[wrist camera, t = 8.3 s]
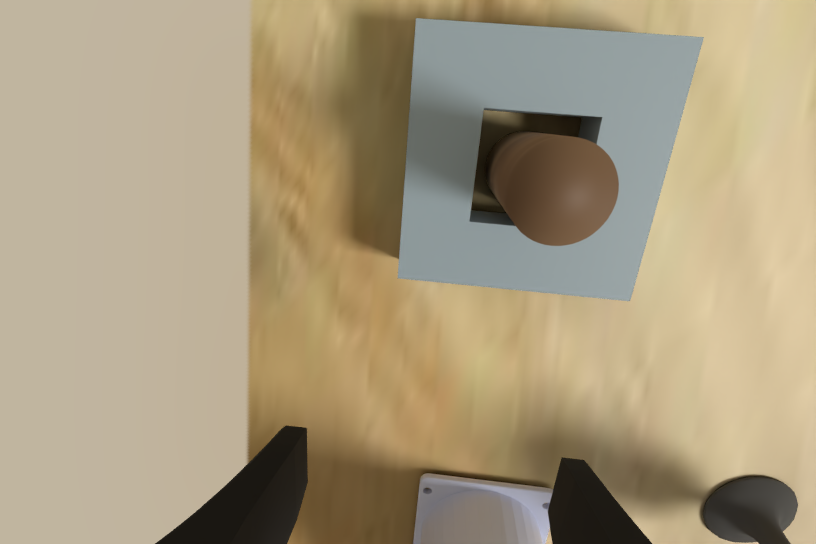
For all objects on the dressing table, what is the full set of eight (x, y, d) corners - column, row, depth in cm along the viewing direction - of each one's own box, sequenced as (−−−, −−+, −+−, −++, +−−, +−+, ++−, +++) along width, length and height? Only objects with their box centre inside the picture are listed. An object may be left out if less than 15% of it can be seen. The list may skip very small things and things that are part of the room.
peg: (555, 202, 19) (613, 243, 13) (485, 205, 20) (506, 248, 13) (559, 128, 18) (623, 132, 12) (484, 134, 19) (506, 140, 12)
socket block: (608, 280, 20) (630, 301, 18) (402, 260, 21) (397, 278, 18) (667, 49, 17) (703, 37, 15) (420, 32, 17) (416, 18, 15)
